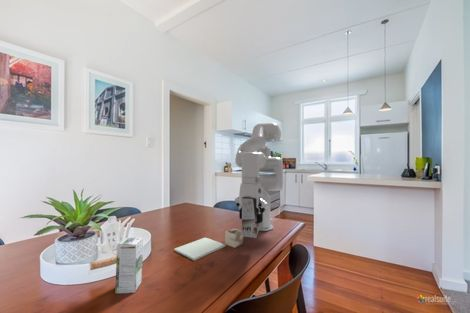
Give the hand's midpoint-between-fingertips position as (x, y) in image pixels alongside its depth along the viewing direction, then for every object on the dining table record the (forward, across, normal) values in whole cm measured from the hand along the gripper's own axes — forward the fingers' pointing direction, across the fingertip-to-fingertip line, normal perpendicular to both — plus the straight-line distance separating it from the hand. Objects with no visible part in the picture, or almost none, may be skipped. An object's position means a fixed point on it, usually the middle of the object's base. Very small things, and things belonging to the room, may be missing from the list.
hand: (250, 220), depth 89 cm
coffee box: (+6, 0, 0) cm, 6 cm away
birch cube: (+14, +11, -2) cm, 18 cm away
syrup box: (+13, +13, +45) cm, 49 cm away
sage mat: (+14, +19, +12) cm, 27 cm away
